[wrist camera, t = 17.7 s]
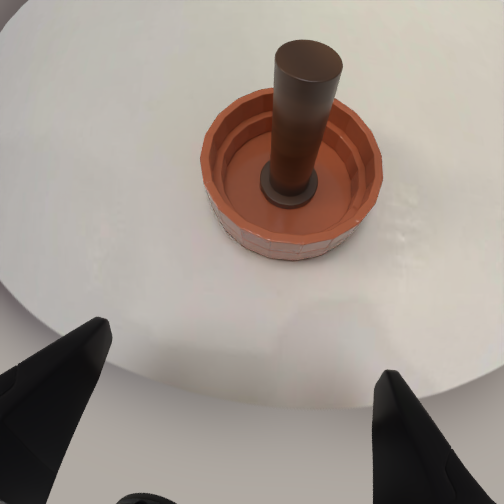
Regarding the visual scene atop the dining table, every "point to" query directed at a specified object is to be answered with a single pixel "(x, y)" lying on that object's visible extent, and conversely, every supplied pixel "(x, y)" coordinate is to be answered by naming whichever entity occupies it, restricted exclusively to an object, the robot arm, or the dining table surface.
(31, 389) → the robot arm
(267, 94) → the bowl
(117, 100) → the dining table surface
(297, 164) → the brown cylinder
